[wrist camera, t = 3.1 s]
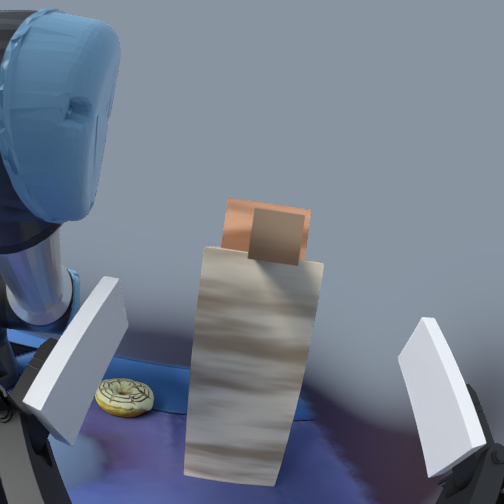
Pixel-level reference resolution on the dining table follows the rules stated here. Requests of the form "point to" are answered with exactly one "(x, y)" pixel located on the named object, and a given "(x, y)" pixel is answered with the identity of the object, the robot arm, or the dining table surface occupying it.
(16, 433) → the robot arm
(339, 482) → the dining table surface
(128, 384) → the decorated donut
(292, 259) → the wooden mallet
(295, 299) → the stand
